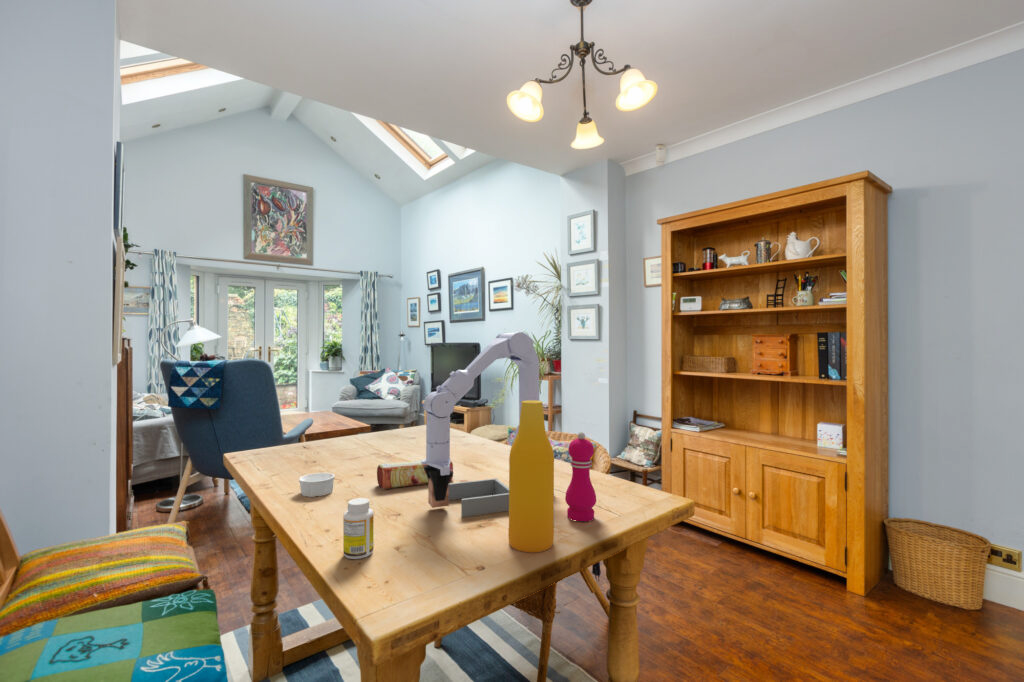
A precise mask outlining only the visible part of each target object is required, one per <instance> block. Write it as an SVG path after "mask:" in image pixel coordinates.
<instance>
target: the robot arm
mask: <svg viewBox="0 0 1024 682" xmlns="http://www.w3.org/2000/svg"><path fill="white" fill-rule="evenodd" d="M499 359H509V360H511V362H513V363H514V364H515V365H516V366H517V367H518V419H519V420H518V423H519V422H520V413H521V405H522V401H527V400H535V401H540V359H539V356H538V354H537V351H536V349H535V347H534V340H533V338H532V337H530V336H529V335H528V334H527V333H525V332H523V331H517V332H507V331H505V332H501V333H498V334H497V336H495V337H494V338H493V339H491V340H490V341H489V342H488V344H487V345H486V346H485V348H484V349H483V350H482V351H481V352H480V353H479V354H478V355H477V356H475V358H474V359H473V360H472V361H471V363H469V364H468V365H467V366H466V368H465V369H457V370H456V371H453V370H452V371H451V372H450V373H449V376H450V377H448V378H447V379H446V380H445V381H444V382H443V383H442V384H441V385H438V386H436V387H435V389H436V391H432V392H430V393H428V394H427V395H426V397H425V398H424V402H422V407H423V409H424V410H423V411H424V412H426V423H425V427H426V429H425V430H426V432H425V433H426V434H425V435H426V439H425V444H426V445H425V449H426V450H425V451H426V452H425V454H426V455H425V459H421V463H422V464H423V465H425V464H427V465H425V466H423V468H424V470H425V472H426V474H427V478H428V482H429V478H431V480H432V483H433V488H434V496H435V500H436V501H441V500H445V496H446V492H447V488H448V484H450V482H451V481H450V479H451V477H452V476H453V477H454V470H453V471H450V466H449V465H450V462H451V460H452V459H451V454H450V453H451V414H453V413H454V409H455V405H456V404H457V403H458V402H459V401H460V400H461V399H462V398H463V397H464V396H465V395H466V394H468V392H469V391H470V390H471V389H472V388H474V384H475V383H474V382H475V379H476V378H477V377H478V376H480V374H482V373H483V372H484V371H485V370H487V368H488V367H489V366H491V365H492V364H493V363H494V362H495V361H496V360H499ZM518 430H519V425H517V426H516V428H515V429H514V436H513V437H514V438H513V439H512V442H511V445H512V444H513V442H514V440H515V438H516V436H517V433H518Z"/></svg>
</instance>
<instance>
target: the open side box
mask: <svg viewBox="0 0 1024 682" xmlns="http://www.w3.org/2000/svg"><path fill="white" fill-rule="evenodd" d="M492 494H493V495H492ZM460 499H461V507H460V508H461V511H460V513H461V515H460V516H461V517H462V518H465V517H473V515H474V516H480V515H481V516H482V515H487V514H495V513H501V512H509V486H507V485H505V483H503V482H502V481H500V480H499V479H498V478H497V477H496V478H487V479H479V480H469V481H460V482H453V483H452V482H451V483H450V482H449V501H451V500H452V501H453V500H460Z"/></svg>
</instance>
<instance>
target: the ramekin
mask: <svg viewBox="0 0 1024 682" xmlns="http://www.w3.org/2000/svg"><path fill="white" fill-rule="evenodd" d="M335 476H336V475H335V474H333V473H331V472H315V473H314V472H313V473H309V474H305V475H302V476H300V477H299V479H298V480H299V484H300V494H301V496H303V497H306V496H308V497H307V498H313V497H314V496H318V497H323V496H322V495H324V496H326V494H327V495H329V494H331V493H332V492H333V490H334V480H335ZM314 498H315V497H314Z"/></svg>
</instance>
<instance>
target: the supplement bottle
mask: <svg viewBox="0 0 1024 682" xmlns="http://www.w3.org/2000/svg"><path fill="white" fill-rule="evenodd" d="M374 517H375V515H374V510H373V509H372V508H370V499H368V498H366V497H365V498H364V497H359V498H358V497H357V498H351V499H350V500H348V501H347V510H346V511H345V512H344V513H343V519H342V520H343V529H342V530H343V532H342V533H343V534H342V536H343V555H344V557H345V558H347V559H349V560H361V559H364V558H367V557H369V556H371V555H372V553H373V552H374V545H375V544H374V534H375V533H374Z"/></svg>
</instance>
